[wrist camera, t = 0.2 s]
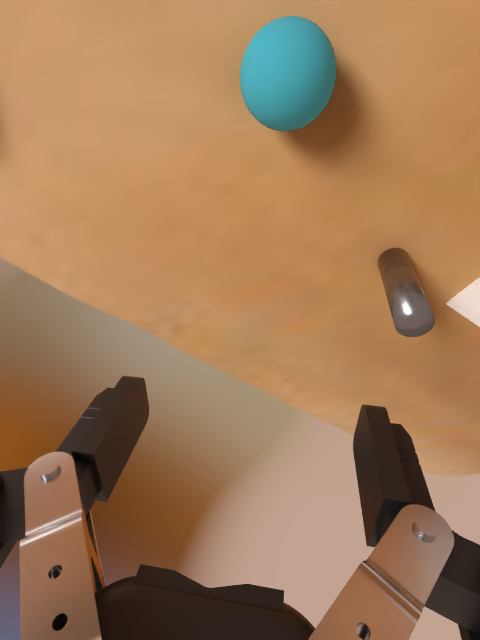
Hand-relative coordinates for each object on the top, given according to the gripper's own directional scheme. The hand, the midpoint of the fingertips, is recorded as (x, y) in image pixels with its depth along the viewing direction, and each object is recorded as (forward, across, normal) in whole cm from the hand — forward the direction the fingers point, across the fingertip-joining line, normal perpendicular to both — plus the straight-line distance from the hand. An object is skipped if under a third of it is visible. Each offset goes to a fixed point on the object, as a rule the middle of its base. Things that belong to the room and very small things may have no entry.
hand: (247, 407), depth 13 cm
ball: (+18, 0, -11) cm, 21 cm away
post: (+23, -10, +2) cm, 25 cm away
